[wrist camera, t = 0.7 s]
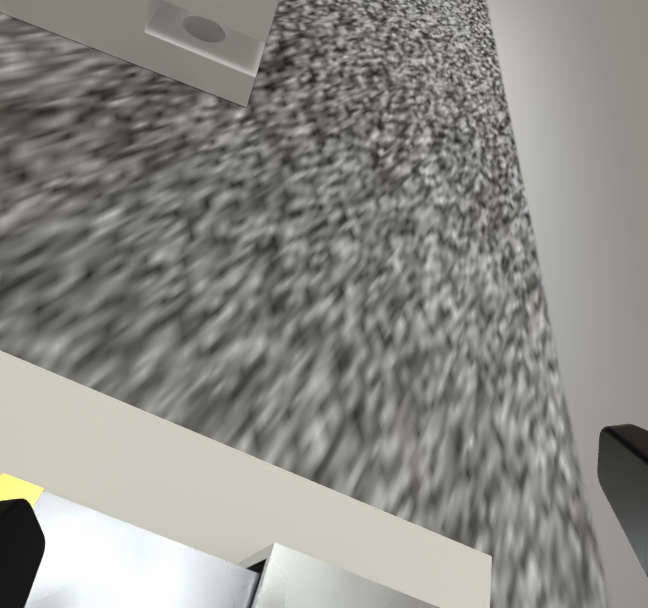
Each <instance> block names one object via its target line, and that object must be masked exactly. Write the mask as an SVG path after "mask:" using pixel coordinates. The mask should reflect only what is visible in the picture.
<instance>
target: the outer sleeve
mask: <svg viewBox="0 0 648 608" xmlns="http://www.w3.org/2000/svg"><path fill="white" fill-rule="evenodd" d="M238 566H241V567H243V568H246V569H248V570H251V571H254V572H256V573H259V574H261V575H262V576H261V579H260V582H259V585H258V589H257V592H256V595H255V599H254V602H253V605H252V608H440V607H437V606H435V605H432V604H430V603H427V602H425V601H422V600H420V599H417V598H415V597H412V596H409V595H407V594H404V593H402V592H399V591H397V590H394V589H392V588H389V587H387V586H384V585H382V584H379V583H377V582H374V581H372V580H369V579H366V578H364V577H361V576H359V575H356V574H354V573H351V572H349V571H346V570H344V569H341V568H339V567H336V566H334V565H331V564H329V563H326V562H323V561H321V560H318V559H316V558H313V557H311V556H308V555H306V554H303V553H301V552H298V551H296V550H293V549H291V548H288V547H286V546H283V545H280V544H278V543H273V544H271V545H269V546H267V547H265V548H264V549H262V550H260V551H258V552H256V553H255V554H253V555H251V556H249V557H247V558H245V559H244V560H242V561H240V562H239V563H238Z"/></svg>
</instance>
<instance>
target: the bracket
mask: <svg viewBox="0 0 648 608" xmlns="http://www.w3.org/2000/svg"><path fill="white" fill-rule="evenodd" d="M278 1H279V0H0V12H1V13H4V14H6V15H9V16H11V17H14V18H16V19H19V20H22V21H24V22H27V23H29V24H32V25H35V26H37V27H40V28H42V29H45V30H47V31H50V32H53V33H55V34H58V35H60V36H63V37H66V38H68V39H71V40H73V41H76V42H79V43H81V44H84V45H86V46H89V47H91V48H94V49H97V50H99V51H102V52H104V53H107V54H110V55H112V56H115V57H117V58H120V59H122V60H125V61H128V62H130V63H133V64H135V65H138V66H141V67H143V68H146V69H148V70H151V71H153V72H156V73H159V74H161V75H164V76H166V77H169V78H172V79H174V80H177V81H179V82H182V83H184V84H187V85H190V86H192V87H195V88H197V89H200V90H203V91H205V92H208V93H210V94H213V95H215V96H218V97H221V98H223V99H226V100H228V101H231V102H234V103H236V104H239V105H241V106H244V107H247V104H248V101H249V97H250V94H251V91H252V87H253V84H254V81H255V78H256V74H257V71H258V67H259V64H260V60H261V57H262V53H263V50H264V46H265V44H266V41H267V38H268V34H269V31H270V28H271V24H272V21H273V18H274V15H275V11H276V8H277V5H278Z"/></svg>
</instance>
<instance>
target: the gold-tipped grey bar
mask: <svg viewBox="0 0 648 608" xmlns="http://www.w3.org/2000/svg"><path fill="white" fill-rule="evenodd" d="M16 498H24V499H26V500H27V501H29V502H30V504H31V506H32V508H33V510H34V513H35V515H36V517H37V519H38V522H39V524H40V526H41V528H42V531H43V533H44V536H45V541H46V544H45V552H44V555H43V558H42V561H41V564H40V566H39V569H38V572H37V575H36V578H35V580H34V583H33V586H32V589H31V591H30V594H29V597H28V600H27V603H26V605H25V608H252V605H253V602H254V599H255V595H256V592H257V589H258V585H259V582H260V579H261V576H262V575H261V574H259V573H256V572H254V571H251V570H248V569H246V568H243V567H241V566H238V565H235V564H233V563H230V562H228V561H225V560H222V559H220V558H217V557H215V556H212V555H209V554H207V553H204V552H202V551H199V550H196V549H194V548H191V547H189V546H186V545H183V544H181V543H178V542H175V541H173V540H170V539H168V538H165V537H162V536H160V535H157V534H155V533H152V532H149V531H147V530H144V529H142V528H139V527H136V526H134V525H131V524H129V523H126V522H123V521H121V520H118V519H116V518H113V517H110V516H108V515H105V514H103V513H100V512H97V511H95V510H92V509H90V508H87V507H84V506H82V505H79V504H76V503H74V502H71V501H69V500H66V499H63V498H61V497H58V496H56V495H53V494H50V493H48V492H45V490H44V488H41V487H39V486H36V485H33V484H31V483H28V482H26V481H23V480H20V479H18V478H15V477H13V476H10V475H7V474H5V473H3V474H2V475H1V477H0V501H1V500H7V499H16Z"/></svg>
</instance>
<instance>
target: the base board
mask: <svg viewBox="0 0 648 608" xmlns="http://www.w3.org/2000/svg"><path fill="white" fill-rule="evenodd" d="M3 473H5V474H7V475H10V476H13V477H15V478H18V479H20V480H23V481H26V482H28V483H31V484H33V485H36V486H39V487H41V488H44V490H45V492H48V493H50V494H53V495H56V496H58V497H61V498H63V499H66V500H69V501H71V502H74V503H76V504H79V505H82V506H84V507H87V508H90V509H92V510H95V511H97V512H100V513H103V514H105V515H108V516H110V517H113V518H116V519H118V520H121V521H123V522H126V523H129V524H131V525H134V526H136V527H139V528H142V529H144V530H147V531H149V532H152V533H155V534H157V535H160V536H162V537H165V538H168V539H170V540H173V541H175V542H178V543H181V544H183V545H186V546H189V547H191V548H194V549H196V550H199V551H202V552H204V553H207V554H209V555H212V556H215V557H217V558H220V559H222V560H225V561H228V562H230V563H233V564H235V565H238V563H239V562H240V561H242V560H244V559H245V558H247V557H249V556H251V555H253V554H255V553H256V552H258V551H260V550H262V549H264V548H265V547H267V546H269V545H271V544H273V543H278V544H280V545H283V546H286V547H288V548H291V549H293V550H296V551H298V552H301V553H303V554H306V555H308V556H311V557H313V558H316V559H318V560H321V561H323V562H326V563H329V564H331V565H334V566H336V567H339V568H341V569H344V570H346V571H349V572H351V573H354V574H356V575H359V576H361V577H364V578H366V579H369V580H372V581H374V582H377V583H379V584H382V585H384V586H387V587H389V588H392V589H394V590H397V591H399V592H402V593H404V594H407V595H409V596H412V597H415V598H417V599H420V600H422V601H425V602H427V603H430V604H432V605H435V606H437V607H440V608H490V586H491V561H492V556H489V555H487V554H484V553H482V552H480V551H477V550H475V549H472V548H470V547H468V546H465V545H463V544H461V543H458V542H456V541H453V540H451V539H449V538H446V537H444V536H441V535H439V534H437V533H434V532H432V531H430V530H427V529H425V528H422V527H420V526H418V525H415V524H413V523H410V522H408V521H406V520H403V519H401V518H398V517H396V516H394V515H391V514H389V513H387V512H384V511H382V510H379V509H377V508H375V507H372V506H370V505H367V504H365V503H363V502H360V501H358V500H355V499H353V498H351V497H348V496H346V495H344V494H341V493H339V492H336V491H334V490H332V489H329V488H327V487H324V486H322V485H320V484H317V483H315V482H313V481H310V480H308V479H305V478H303V477H301V476H298V475H296V474H293V473H291V472H289V471H286V470H284V469H281V468H279V467H277V466H274V465H272V464H270V463H267V462H265V461H262V460H260V459H258V458H255V457H253V456H250V455H248V454H246V453H243V452H241V451H239V450H236V449H234V448H231V447H229V446H227V445H224V444H222V443H219V442H217V441H215V440H212V439H210V438H207V437H205V436H203V435H200V434H198V433H196V432H193V431H191V430H188V429H186V428H184V427H181V426H179V425H176V424H174V423H172V422H169V421H167V420H165V419H162V418H160V417H157V416H155V415H153V414H150V413H148V412H145V411H143V410H141V409H138V408H136V407H133V406H131V405H129V404H126V403H124V402H122V401H119V400H117V399H114V398H112V397H110V396H107V395H105V394H102V393H100V392H98V391H95V390H93V389H91V388H88V387H86V386H83V385H81V384H79V383H76V382H74V381H71V380H69V379H67V378H64V377H62V376H59V375H57V374H55V373H52V372H50V371H48V370H45V369H43V368H40V367H38V366H36V365H33V364H31V363H28V362H26V361H24V360H21V359H19V358H16V357H14V356H12V355H9V354H7V353H5V352H2V351H0V477H1V475H2V474H3Z"/></svg>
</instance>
